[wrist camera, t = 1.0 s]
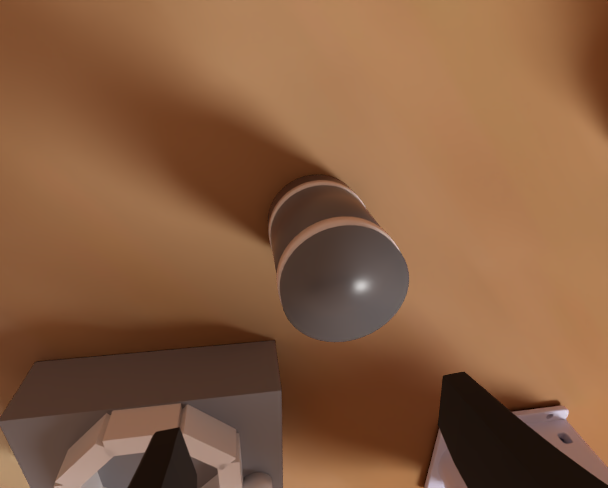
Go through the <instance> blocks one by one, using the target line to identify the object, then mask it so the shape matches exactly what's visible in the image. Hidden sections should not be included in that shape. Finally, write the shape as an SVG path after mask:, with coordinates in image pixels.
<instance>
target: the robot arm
mask: <svg viewBox="0 0 608 488" xmlns="http://www.w3.org/2000/svg"><path fill="white" fill-rule="evenodd" d="M568 413H569V411H568V409H567V408H566V407H565V406H553V407H545V408H537V409H529V410H522V411H514V412H511V411H510V410H509V409H507V408H506V407H505V406H504V405H503V404H501V403H500V402H499V401H498V400H497V399H496V398H494V397H493V396H492V395H491V394H490V393H488V392H487V391H486V390H485V389H484V388H483V387H482V386H480V385H479V384H478V383H477V382H476V381H475V380H473V379H472V378H471V377H470V376H469V375H467V374H466V373H465V372H459V373H454V374H449V375H444V376H443V380H442V390H441V400H440V410H439V420H438V426H439V431H438V435H437V439H436V443H435V447H434V451H433V455H432V459H431V463H430V467H429V471H428V475H427V478H426V482H425V486H424V488H608V467H607V466H606V465H605V464H604V463H603V461H602V460H601V459H600V458H599V457H598V456H597V455H596V453H595V452H594V451H593V450H592V449H591V448H590V447H589V445H588V444H587V443H586V442H585V441H584V440H583V439H582V438H581V436H580V435H579V434H578V433H577V432H576V431H575V430H574V428H573V427H572V426H571V425H570V424H569V423H568V422H567V420H566V418H567V416H568ZM128 488H197V473H196V470H195V467H194V465H193V462H192V459H191V457H190V454H189V451H188V448H187V446H186V443H185V440H184V437H183V435H182V432H181V429H180V427H177V428H172V429H167V430H162V431H157V432H155V433H154V435H153V436H152V438H151V440H150V442H149V445H148V447H147V449H146V451H145V453H144V455H143V457H142V459H141V461H140V464H139V466H138V468H137V470H136V472H135V474H134V476H133V478H132V480H131V482H130V484H129V486H128Z"/></svg>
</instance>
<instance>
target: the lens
mask: <svg viewBox="0 0 608 488" xmlns="http://www.w3.org/2000/svg"><path fill="white" fill-rule="evenodd" d="M268 232H269V240H270V245H271V248H272V251H273V256H274V262H275V268H276V273H277V287H278V293H279V298H280V301H281V304H282V306H283V310H284V312H285V314H286V316H287V318H288V320H289V321H290V322H291V324H292V325H293V326H294V327H295V328H296V329H298V330H299V331H300V332H302V333H303V334H305V335H307V336H309V337H311V338H314V339H317V340H321V341H326V342H344V341H351V340H355V339H358V338H361V337H364V336H366V335H368V334H371V333H373V332H374V331H376V330H378V329H379V328H381V327H382V326H383V325H385V324H386V323H387V322H388V321H389V320H390V319H391V318H392V317H393V316H394V315H395V314H396V313H397V311H398V310H399V308H400V307H401V305H402V303H403V301H404V299H405V296H406V294H407V290H408V284H409V272H408V268H407V264H406V262H405V259H404V257H403V256H402V254H401V252H400V250H399V248H398V247H397V245H396V244H395V242H394V241H393V240H392V239H391V237H390V236H389V235H388V234H387V233H386V232H385V231H384V230H383V229H382V228H381V227H380V226H379V224H378V223H377V222H376V221H375V219H374V218H373V217H372V216H371V214H370V213H369V212H368V210H367V209H366V207H365V205H364V204H363V202H362V201H361V200H360V198H359V197H358V196H357V195H356V194H355V193H354V192H353V191H352V190H351V189H350V188H349V187H348V186H347V185H346V184H345V183H343V182H342V181H340V180H338V179H336V178H334V177H331V176H326V175H309V176H304V177H301V178H298V179H296V180H294V181H292V182H291V183H289V184H288V185H286V186H285V187H284V188H283V189H282V190H281V191H280V192H279V193H278V194H277V196H276V197H275V199H274V200H273V202H272V204H271V207H270V210H269V215H268Z"/></svg>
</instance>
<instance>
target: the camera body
mask: <svg viewBox="0 0 608 488" xmlns="http://www.w3.org/2000/svg"><path fill="white" fill-rule="evenodd" d="M0 427H1V429H2V431H3V433H4V435H5V437H6V439H7V441H8V443H9V445H10V447H11V449H12V451H13V453H14V455H15V457H16V459H17V461H18V463H19V465H20V467H21V469H22V472H23V474H24V476H25V478H26V480H27V482H28V484H29V486H30V488H128V486H129V484H130V482H131V480H132V478H133V476H134V474H135V472H136V470H137V468H138V466H139V464H140V461H141V459H142V457H143V455H144V453H145V451H146V449H147V447H148V445H149V442H150V440H151V438H152V436H153V435H154V433H155V432H157V431H162V430H167V429H172V428H177V427H180V429H181V432H182V435H183V437H184V440H185V443H186V446H187V448H188V451H189V454H190V457H191V459H192V462H193V465H194V467H195V470H196V473H197V488H283V458H282V390H281V382H280V375H279V367H278V359H277V352H276V344H275V340H273V341H262V342H251V343H240V344H229V345H218V346H207V347H196V348H185V349H174V350H162V351H151V352H140V353H129V354H118V355H107V356H96V357H85V358H74V359H63V360H52V361H41V362H35V363H34V365H33V366H32V368H31V369H30V371H29V373H28V374H27V376H26V377H25V379H24V381H23V382H22V384H21V385H20V387H19V389H18V390H17V392H16V393H15V395H14V396H13V398H12V400H11V401H10V403H9V404H8V406H7V408H6V409H5V411H4V412H3V414H2V416H1V417H0Z"/></svg>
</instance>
